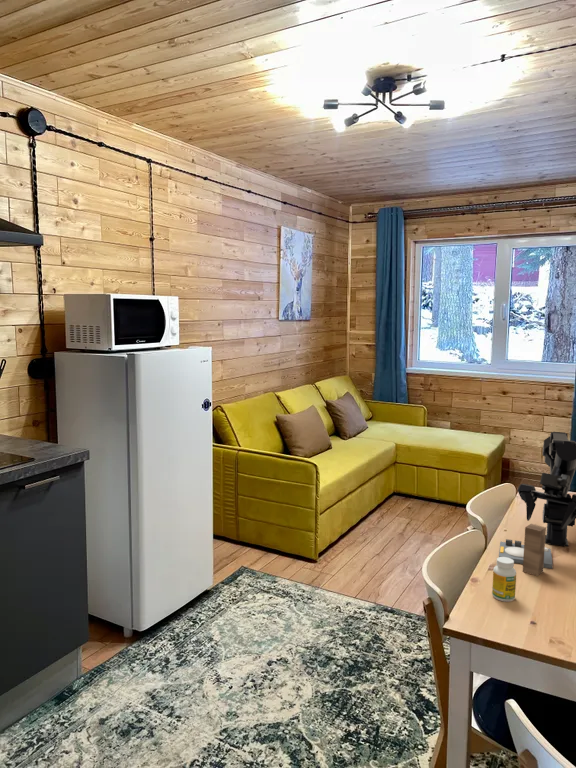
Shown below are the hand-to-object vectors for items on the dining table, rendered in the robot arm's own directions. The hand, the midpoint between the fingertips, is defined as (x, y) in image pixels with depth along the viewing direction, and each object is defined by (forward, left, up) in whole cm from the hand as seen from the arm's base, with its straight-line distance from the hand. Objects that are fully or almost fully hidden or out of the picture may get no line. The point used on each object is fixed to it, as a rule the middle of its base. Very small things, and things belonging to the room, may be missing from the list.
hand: (544, 524), depth 160 cm
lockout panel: (-5, -4, -12) cm, 14 cm away
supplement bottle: (+24, -9, -12) cm, 29 cm away
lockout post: (+5, -2, -12) cm, 13 cm away
